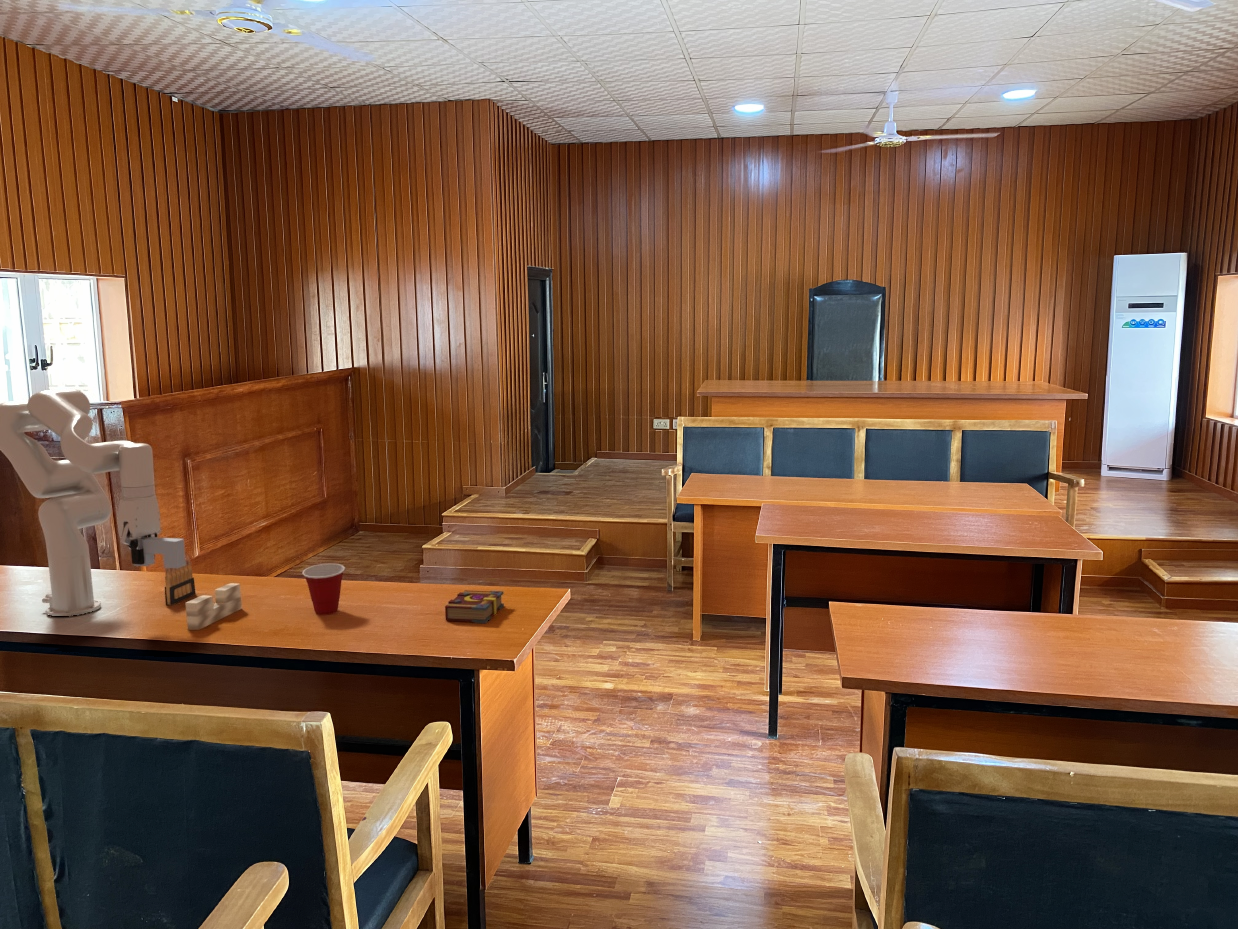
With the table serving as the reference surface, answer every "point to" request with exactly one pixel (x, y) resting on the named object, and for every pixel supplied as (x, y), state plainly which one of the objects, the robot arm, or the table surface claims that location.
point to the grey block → (163, 551)
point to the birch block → (213, 606)
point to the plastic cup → (324, 586)
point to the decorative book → (474, 606)
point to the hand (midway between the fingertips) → (143, 561)
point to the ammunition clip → (179, 583)
